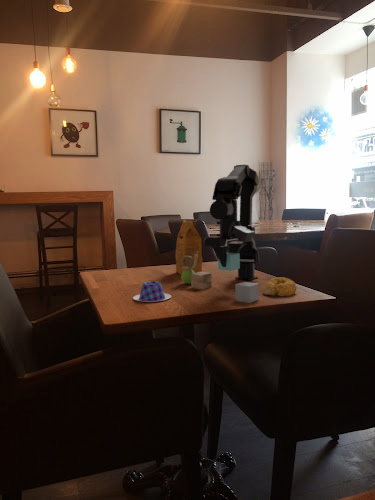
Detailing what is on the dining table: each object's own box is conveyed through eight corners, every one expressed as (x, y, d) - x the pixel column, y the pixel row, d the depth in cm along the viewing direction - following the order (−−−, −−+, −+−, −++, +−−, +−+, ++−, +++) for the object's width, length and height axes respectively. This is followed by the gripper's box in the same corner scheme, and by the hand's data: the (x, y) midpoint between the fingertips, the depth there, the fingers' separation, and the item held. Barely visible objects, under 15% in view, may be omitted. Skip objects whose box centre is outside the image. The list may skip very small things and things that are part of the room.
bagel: (256, 292, 135) (256, 278, 135) (284, 289, 139) (284, 275, 139) (273, 299, 126) (273, 283, 126) (303, 295, 130) (303, 280, 130)
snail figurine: (197, 285, 147) (196, 252, 146) (179, 285, 149) (179, 252, 147) (200, 282, 153) (199, 250, 151) (183, 282, 154) (182, 250, 153)
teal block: (227, 267, 139) (227, 252, 138) (239, 268, 136) (239, 253, 135) (218, 269, 135) (218, 254, 135) (230, 270, 132) (230, 255, 131)
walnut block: (200, 285, 148) (200, 271, 147) (211, 287, 145) (211, 273, 144) (191, 288, 144) (190, 273, 144) (202, 289, 141) (202, 275, 140)
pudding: (151, 293, 139) (151, 277, 138) (179, 297, 131) (178, 281, 130) (125, 300, 129) (124, 284, 129) (152, 306, 122) (152, 288, 121)
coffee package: (195, 270, 180) (194, 219, 177) (204, 274, 168) (203, 220, 165) (173, 271, 177) (171, 220, 174) (181, 276, 165) (179, 221, 162)
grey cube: (245, 297, 128) (244, 281, 128) (258, 299, 125) (258, 283, 124) (235, 300, 125) (235, 284, 124) (249, 303, 121) (249, 286, 121)
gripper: (231, 219, 121) (232, 272, 123) (265, 216, 135) (265, 264, 137) (202, 219, 129) (203, 268, 131) (237, 216, 143) (237, 261, 144)
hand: (228, 265), depth 135 cm, fingers closed on teal block, 5 cm apart
